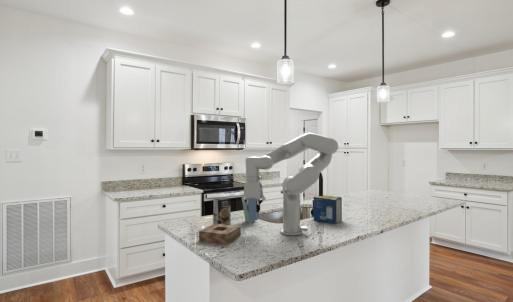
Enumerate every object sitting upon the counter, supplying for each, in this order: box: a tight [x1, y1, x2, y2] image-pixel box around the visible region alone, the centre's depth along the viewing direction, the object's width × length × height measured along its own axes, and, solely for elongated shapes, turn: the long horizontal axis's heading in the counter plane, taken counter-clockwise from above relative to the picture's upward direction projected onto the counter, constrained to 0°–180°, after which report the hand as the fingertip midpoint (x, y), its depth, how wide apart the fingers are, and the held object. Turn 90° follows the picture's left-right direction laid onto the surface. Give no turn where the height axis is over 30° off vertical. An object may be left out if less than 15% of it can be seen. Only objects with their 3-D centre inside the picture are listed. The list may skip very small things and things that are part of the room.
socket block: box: [198, 223, 242, 246], centre depth 153 cm, size 16×16×5 cm
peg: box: [248, 198, 260, 221], centre depth 162 cm, size 4×4×12 cm
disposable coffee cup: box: [241, 199, 256, 223], centre depth 188 cm, size 11×11×15 cm
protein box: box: [313, 194, 343, 225], centre depth 191 cm, size 10×15×16 cm
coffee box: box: [212, 197, 232, 225], centre depth 180 cm, size 9×6×16 cm
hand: (253, 211), depth 162 cm, fingers closed on peg, 4 cm apart
